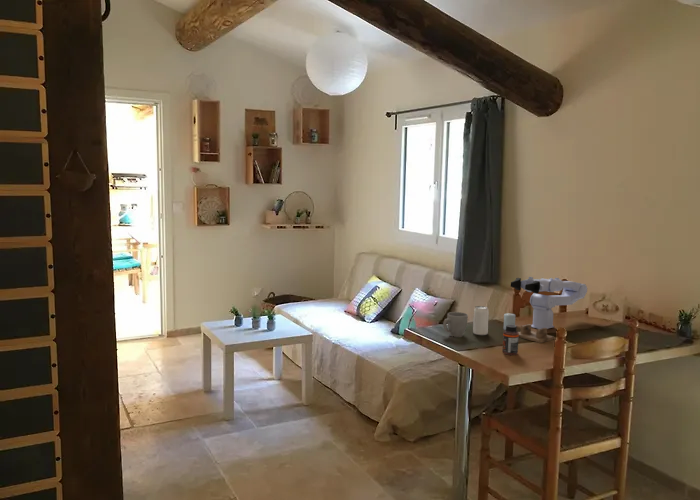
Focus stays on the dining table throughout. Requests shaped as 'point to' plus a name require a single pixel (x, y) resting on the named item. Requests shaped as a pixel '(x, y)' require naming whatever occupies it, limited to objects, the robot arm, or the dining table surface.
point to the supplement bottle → (510, 340)
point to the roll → (509, 320)
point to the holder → (534, 334)
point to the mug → (456, 323)
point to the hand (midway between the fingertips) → (518, 285)
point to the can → (480, 320)
